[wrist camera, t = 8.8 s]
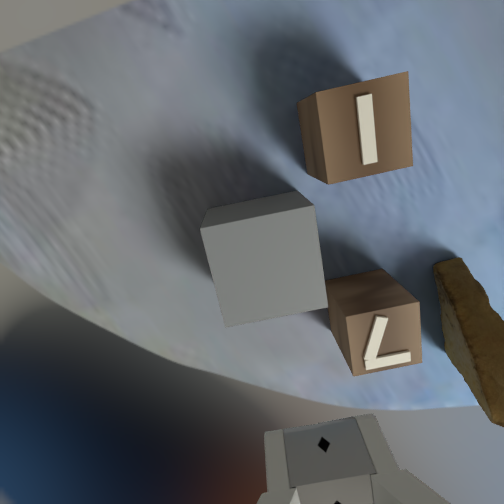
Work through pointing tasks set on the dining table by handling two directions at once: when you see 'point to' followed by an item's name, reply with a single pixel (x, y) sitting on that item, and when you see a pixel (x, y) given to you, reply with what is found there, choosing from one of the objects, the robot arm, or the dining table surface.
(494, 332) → the rock
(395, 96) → the walnut block one
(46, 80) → the dining table surface
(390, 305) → the walnut block seven
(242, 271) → the grey block
